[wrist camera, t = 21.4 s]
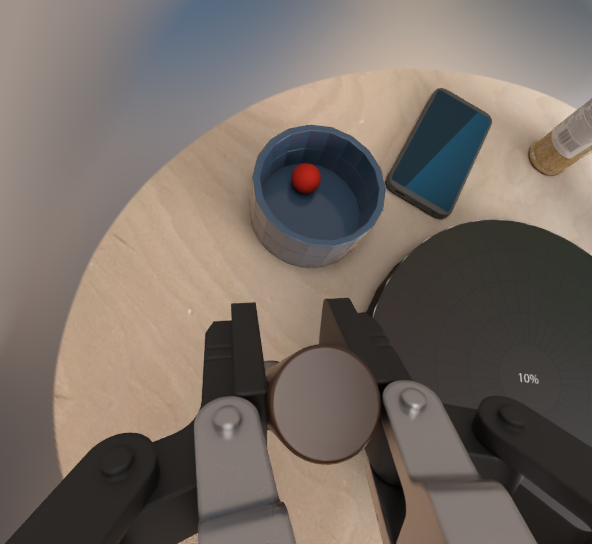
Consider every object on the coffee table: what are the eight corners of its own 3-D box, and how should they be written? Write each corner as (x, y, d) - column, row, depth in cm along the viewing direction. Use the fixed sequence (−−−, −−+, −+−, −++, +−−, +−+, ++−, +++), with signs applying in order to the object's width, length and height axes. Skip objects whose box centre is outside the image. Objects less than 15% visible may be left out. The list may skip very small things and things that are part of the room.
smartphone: (381, 186, 39) (385, 181, 38) (434, 89, 44) (438, 83, 43) (444, 222, 39) (449, 219, 38) (490, 122, 44) (496, 117, 43)
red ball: (305, 203, 37) (282, 186, 36) (319, 181, 38) (296, 164, 37) (316, 194, 34) (291, 175, 34) (330, 170, 35) (306, 152, 34)
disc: (595, 229, 42) (622, 218, 39) (690, 536, 34) (731, 550, 31) (337, 232, 37) (346, 219, 34) (378, 595, 29) (394, 618, 26)
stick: (256, 442, 18) (298, 537, 6) (225, 382, 19) (212, 370, 7) (312, 405, 19) (437, 431, 7) (280, 350, 20) (350, 291, 8)
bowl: (285, 288, 35) (296, 270, 29) (229, 186, 36) (229, 151, 31) (383, 238, 38) (409, 213, 32) (326, 147, 39) (342, 108, 34)
